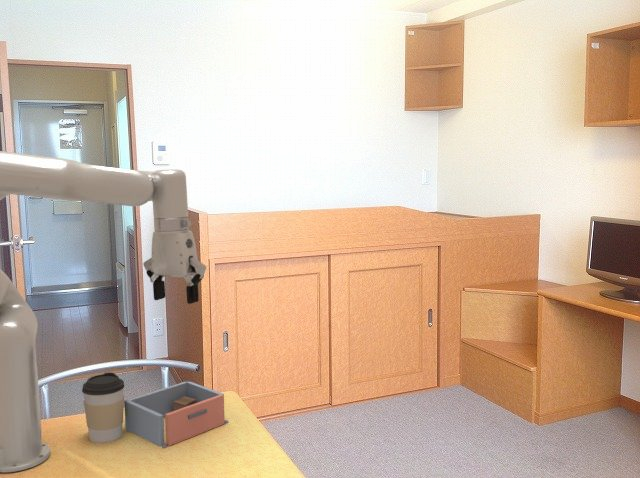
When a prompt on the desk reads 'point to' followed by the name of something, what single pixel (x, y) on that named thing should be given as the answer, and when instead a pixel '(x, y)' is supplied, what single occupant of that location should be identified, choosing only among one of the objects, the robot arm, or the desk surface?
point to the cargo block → (183, 402)
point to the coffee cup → (104, 407)
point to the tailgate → (194, 419)
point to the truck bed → (160, 409)
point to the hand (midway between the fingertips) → (176, 300)
